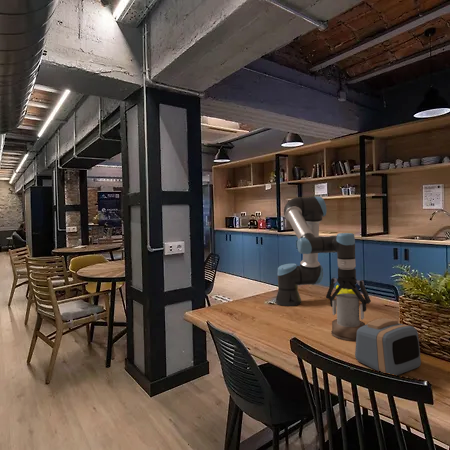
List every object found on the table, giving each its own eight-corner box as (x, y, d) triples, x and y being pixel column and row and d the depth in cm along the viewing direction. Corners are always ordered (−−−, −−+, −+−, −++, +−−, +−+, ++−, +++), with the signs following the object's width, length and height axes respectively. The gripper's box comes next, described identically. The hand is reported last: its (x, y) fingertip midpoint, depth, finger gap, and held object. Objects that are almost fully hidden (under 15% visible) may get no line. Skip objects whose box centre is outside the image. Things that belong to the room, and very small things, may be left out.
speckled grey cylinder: (356, 319, 151) (355, 293, 150) (362, 327, 141) (361, 298, 141) (334, 319, 152) (333, 293, 151) (340, 327, 142) (339, 299, 142)
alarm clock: (391, 380, 107) (390, 332, 107) (352, 360, 122) (351, 318, 121) (423, 368, 114) (422, 323, 113) (383, 351, 129) (382, 311, 128)
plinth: (326, 336, 146) (326, 325, 145) (337, 326, 157) (337, 316, 157) (361, 343, 136) (360, 331, 136) (370, 332, 148) (370, 321, 148)
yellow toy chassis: (356, 300, 198) (356, 287, 198) (347, 301, 197) (347, 288, 197) (344, 294, 214) (343, 281, 213) (335, 295, 213) (335, 282, 213)
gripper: (317, 267, 150) (319, 314, 151) (373, 271, 135) (374, 323, 136) (323, 264, 156) (325, 310, 157) (377, 268, 141) (379, 318, 142)
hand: (348, 316), depth 147 cm, fingers open, 11 cm apart
